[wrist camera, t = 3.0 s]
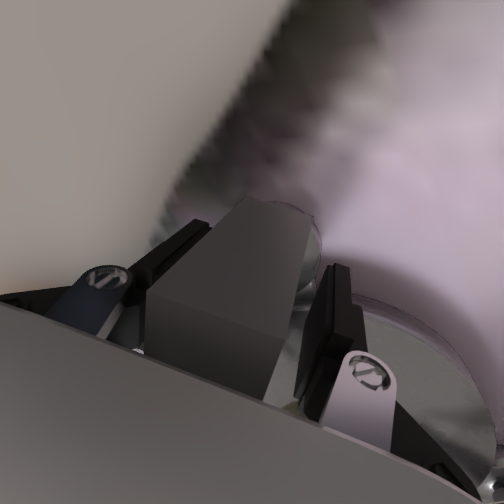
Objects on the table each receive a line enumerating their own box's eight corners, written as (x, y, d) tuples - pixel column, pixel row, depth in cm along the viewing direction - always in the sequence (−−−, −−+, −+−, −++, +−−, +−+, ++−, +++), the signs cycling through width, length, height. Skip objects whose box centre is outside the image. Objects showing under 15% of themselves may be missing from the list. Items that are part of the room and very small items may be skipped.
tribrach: (550, 506, 16) (663, 718, 11) (204, 466, 24) (163, 576, 19) (595, 122, 9) (1024, 145, 3) (82, 245, 17) (-46, 313, 11)
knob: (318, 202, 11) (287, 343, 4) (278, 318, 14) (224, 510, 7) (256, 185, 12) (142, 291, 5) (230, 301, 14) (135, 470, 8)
